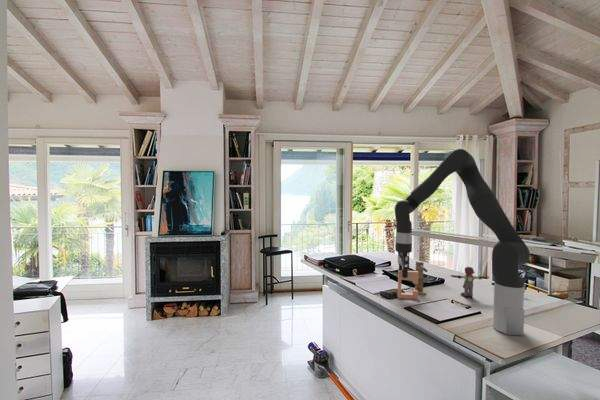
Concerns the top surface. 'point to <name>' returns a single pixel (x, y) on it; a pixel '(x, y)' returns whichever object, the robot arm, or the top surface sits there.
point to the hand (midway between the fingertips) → (402, 275)
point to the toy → (468, 281)
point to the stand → (420, 278)
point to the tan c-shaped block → (411, 276)
